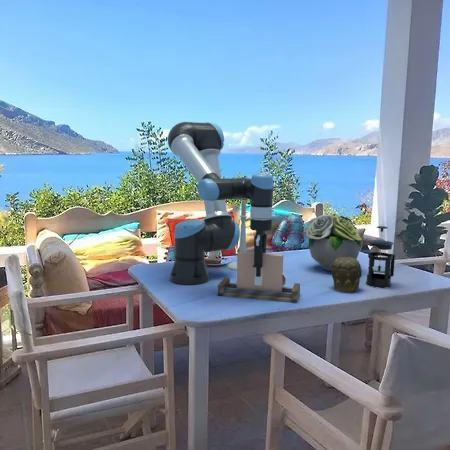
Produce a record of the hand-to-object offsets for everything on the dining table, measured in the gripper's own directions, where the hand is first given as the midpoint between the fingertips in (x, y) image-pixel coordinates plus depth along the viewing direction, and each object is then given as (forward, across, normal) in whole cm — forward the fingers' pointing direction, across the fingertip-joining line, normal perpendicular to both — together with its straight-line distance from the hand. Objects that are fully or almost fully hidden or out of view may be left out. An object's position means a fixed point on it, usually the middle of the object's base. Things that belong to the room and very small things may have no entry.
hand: (259, 283), depth 171 cm
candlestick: (+5, +38, +14) cm, 41 cm away
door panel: (+2, 0, 0) cm, 2 cm away
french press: (+4, +27, -43) cm, 51 cm away
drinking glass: (+2, +23, -2) cm, 23 cm away
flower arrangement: (+4, +46, -25) cm, 53 cm away
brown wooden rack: (+4, 0, 0) cm, 4 cm away
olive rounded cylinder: (+4, +17, -30) cm, 35 cm away
